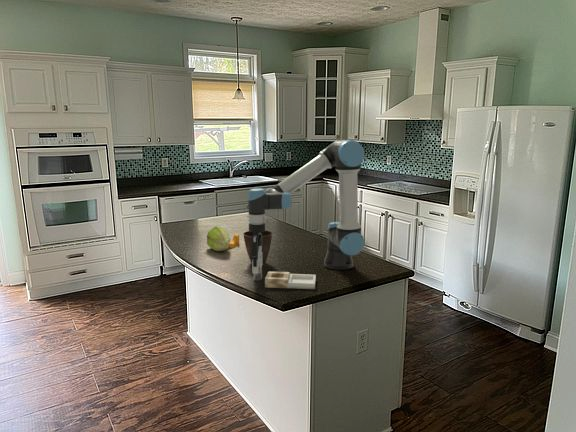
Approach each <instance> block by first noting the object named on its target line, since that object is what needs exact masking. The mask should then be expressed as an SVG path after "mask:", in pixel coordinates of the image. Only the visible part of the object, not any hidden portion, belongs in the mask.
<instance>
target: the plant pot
mask: <svg viewBox="0 0 576 432" xmlns="http://www.w3.org/2000/svg"><path fill="white" fill-rule="evenodd" d="M253 234H254V233H253V232H250V231H249V230H248V231H245V232H243V239H244V244H245V248H246V251H247V252H246V253H247V255H248V259H249V260H250V258H251V253H252V236H253ZM272 238H273V232H272V231H269V230H265V231H264V232H262V241H263V249H264V252H262V264H263V265H264V264H266V263H267V260H268V256H269V254H270V249H271V243H272ZM250 263H251V264H252V260H250Z"/></svg>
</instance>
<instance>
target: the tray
mask: <svg viewBox="0 0 576 432" xmlns="http://www.w3.org/2000/svg"><path fill="white" fill-rule="evenodd" d="M316 275H317V274H311V273H310V274H309V273H307V274H305V273H302V274H301V273H290V276H289V279H288V288H287V289H303V290H315V289H316V280H317V276H316Z"/></svg>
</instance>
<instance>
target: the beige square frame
mask: <svg viewBox="0 0 576 432" xmlns="http://www.w3.org/2000/svg"><path fill="white" fill-rule="evenodd" d="M290 274H291V272H290V271H268V272H267V274H266V276H265V277H264V288H271V289H272V288H275V289H289V288H288V279H289V276H290Z"/></svg>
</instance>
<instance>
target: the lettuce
mask: <svg viewBox="0 0 576 432" xmlns="http://www.w3.org/2000/svg"><path fill="white" fill-rule="evenodd" d="M230 242H231V237H230V235H229V233H228V232H227V230H225V229H224V228H222V227H221V226H214V227H211V229H210V230H209V231H208V232H207V234H206V244H207V246H208V247H209V248H210V249H212V250H214V251H216V252H222V251H225V250H228V249H227V248H228V247H229V244H230Z"/></svg>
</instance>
